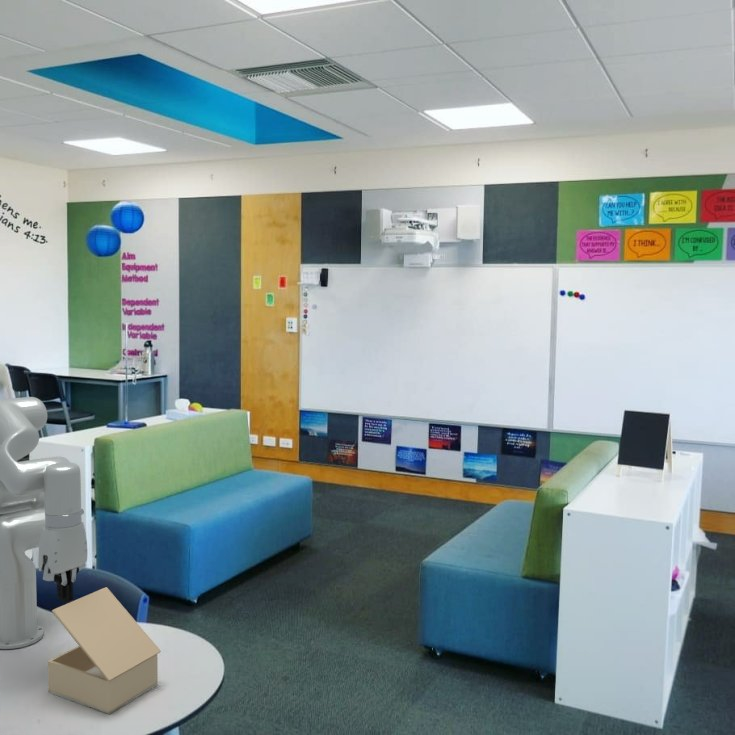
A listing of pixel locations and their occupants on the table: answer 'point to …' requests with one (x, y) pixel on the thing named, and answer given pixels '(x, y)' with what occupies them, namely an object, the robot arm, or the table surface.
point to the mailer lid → (106, 633)
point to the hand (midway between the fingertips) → (65, 599)
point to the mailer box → (98, 681)
